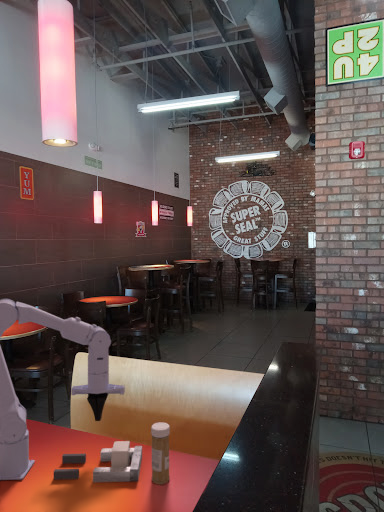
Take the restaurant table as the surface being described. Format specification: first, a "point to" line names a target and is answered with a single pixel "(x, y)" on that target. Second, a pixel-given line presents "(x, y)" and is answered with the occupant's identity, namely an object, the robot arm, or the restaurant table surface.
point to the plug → (120, 454)
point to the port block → (119, 472)
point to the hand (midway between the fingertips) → (98, 419)
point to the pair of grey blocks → (69, 472)
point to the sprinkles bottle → (160, 452)
